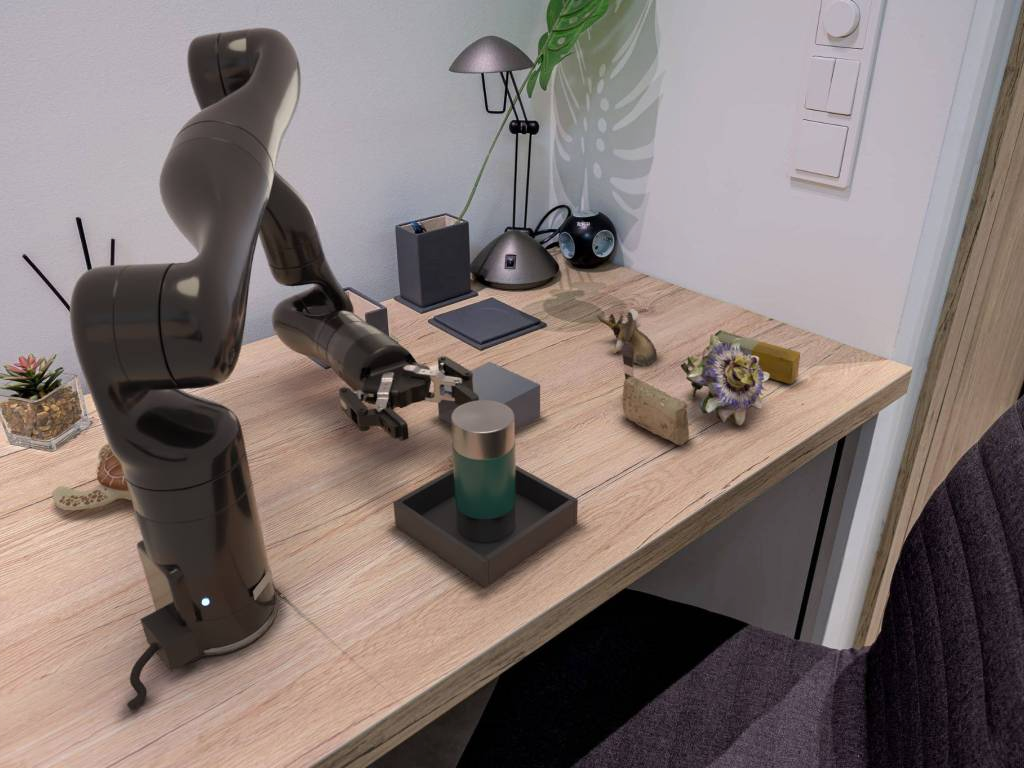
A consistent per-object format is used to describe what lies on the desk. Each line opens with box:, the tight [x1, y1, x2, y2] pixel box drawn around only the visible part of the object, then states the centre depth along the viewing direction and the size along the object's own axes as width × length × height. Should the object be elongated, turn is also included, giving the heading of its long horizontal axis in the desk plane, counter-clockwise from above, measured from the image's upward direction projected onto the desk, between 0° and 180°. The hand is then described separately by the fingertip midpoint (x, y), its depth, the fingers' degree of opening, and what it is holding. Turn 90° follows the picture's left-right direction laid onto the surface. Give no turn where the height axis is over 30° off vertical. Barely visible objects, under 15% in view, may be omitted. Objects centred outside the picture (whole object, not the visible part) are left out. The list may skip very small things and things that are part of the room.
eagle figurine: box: [596, 308, 658, 367], centre depth 118 cm, size 8×7×9 cm
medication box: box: [713, 329, 801, 385], centre depth 113 cm, size 12×3×4 cm, turn 50°
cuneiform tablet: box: [621, 353, 690, 447], centre depth 100 cm, size 7×4×12 cm
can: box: [450, 400, 516, 543], centre depth 81 cm, size 6×6×13 cm
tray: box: [392, 464, 579, 589], centre depth 84 cm, size 13×13×4 cm
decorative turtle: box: [52, 443, 132, 511], centre depth 91 cm, size 18×17×5 cm
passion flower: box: [680, 334, 770, 427], centre depth 103 cm, size 11×11×12 cm
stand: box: [437, 361, 541, 432], centre depth 102 cm, size 9×9×5 cm
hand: (441, 419), depth 86 cm, fingers open, 8 cm apart
